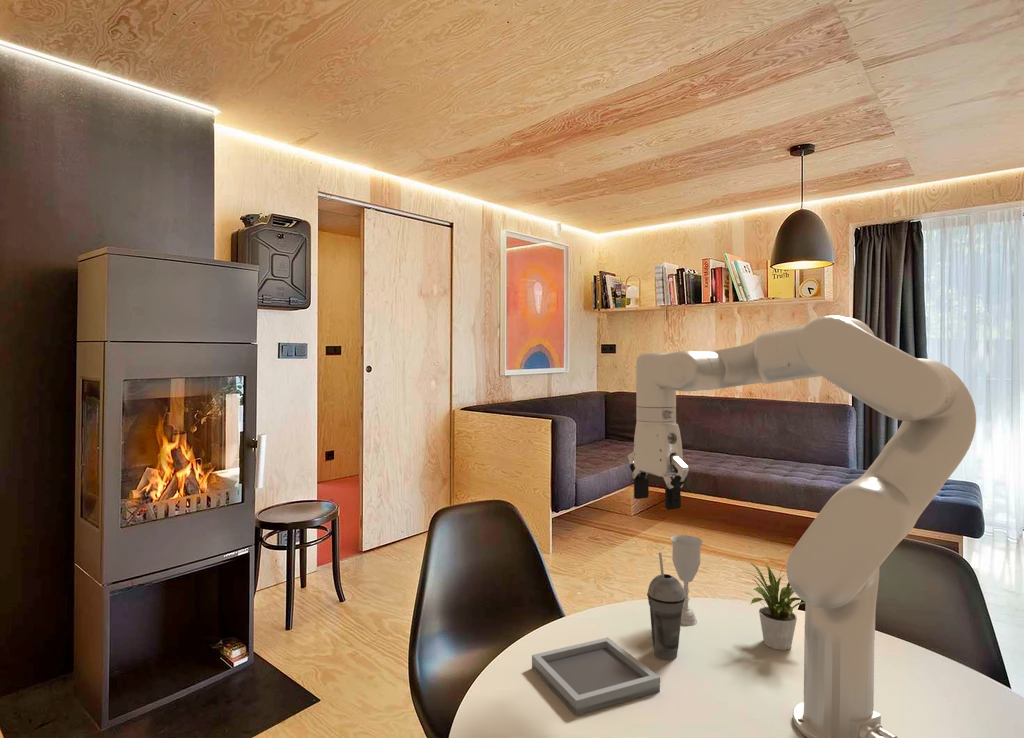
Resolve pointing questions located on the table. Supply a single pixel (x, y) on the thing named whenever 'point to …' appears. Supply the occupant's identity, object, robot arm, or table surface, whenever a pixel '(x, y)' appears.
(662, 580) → the beverage cup
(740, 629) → the table surface
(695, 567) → the chalice
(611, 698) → the tray
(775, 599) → the house plant
